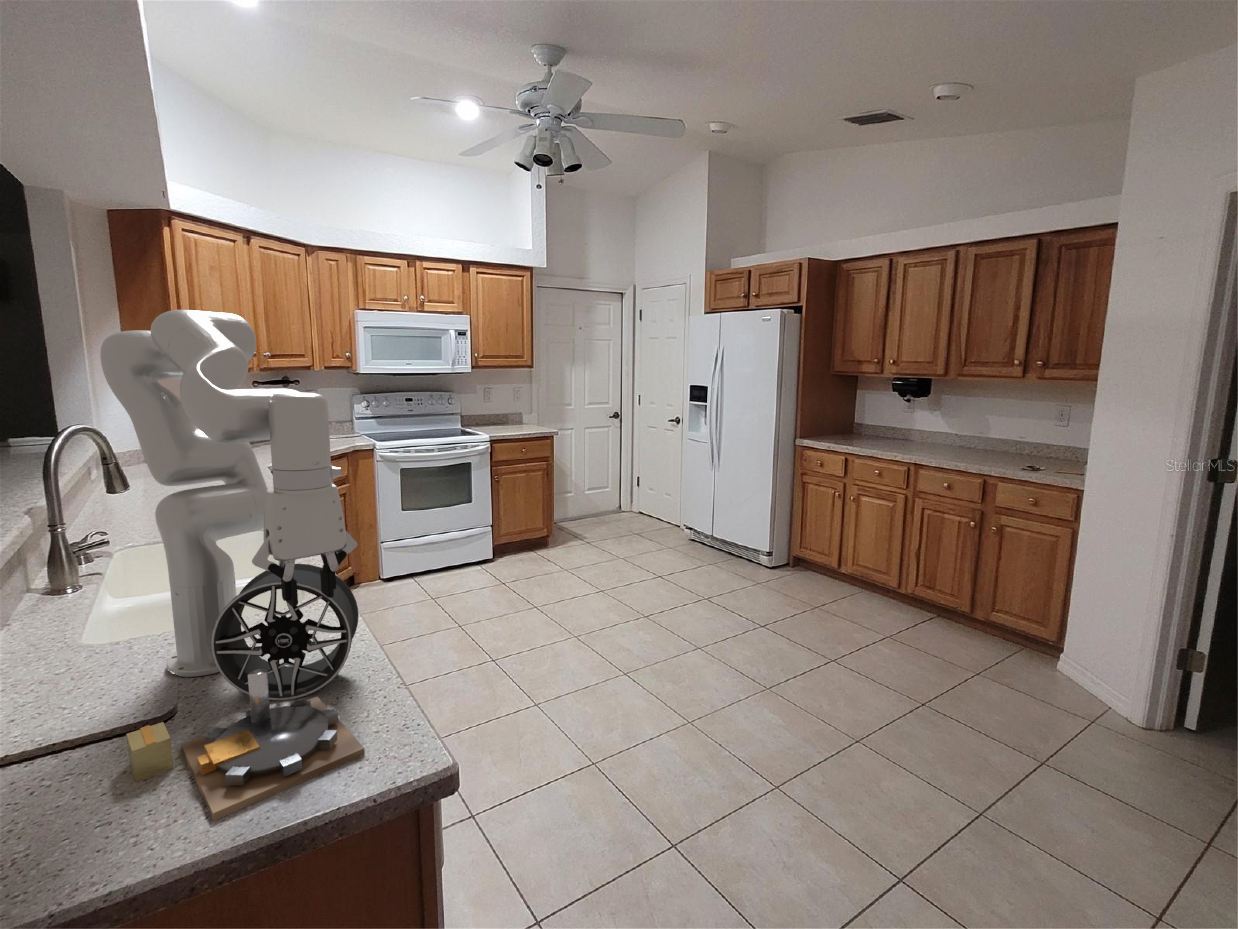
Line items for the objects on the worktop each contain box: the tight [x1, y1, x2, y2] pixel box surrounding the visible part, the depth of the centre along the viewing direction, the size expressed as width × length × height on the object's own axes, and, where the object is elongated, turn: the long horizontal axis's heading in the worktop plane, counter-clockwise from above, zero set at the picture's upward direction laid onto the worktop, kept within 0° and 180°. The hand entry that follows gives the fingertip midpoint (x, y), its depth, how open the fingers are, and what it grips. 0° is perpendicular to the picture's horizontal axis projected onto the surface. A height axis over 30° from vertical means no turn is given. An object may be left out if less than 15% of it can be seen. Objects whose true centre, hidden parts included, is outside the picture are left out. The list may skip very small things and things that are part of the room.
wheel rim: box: [211, 563, 360, 701], centre depth 100 cm, size 20×9×20 cm, turn 105°
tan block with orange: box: [125, 721, 175, 783], centre depth 81 cm, size 5×4×5 cm
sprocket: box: [197, 669, 339, 785], centre depth 83 cm, size 17×17×8 cm
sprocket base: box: [180, 696, 366, 821], centre depth 84 cm, size 18×18×1 cm
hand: (310, 598), depth 90 cm, fingers open, 4 cm apart
